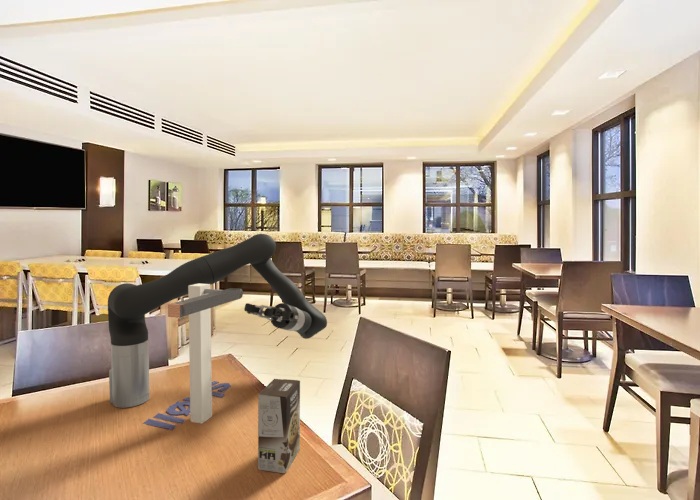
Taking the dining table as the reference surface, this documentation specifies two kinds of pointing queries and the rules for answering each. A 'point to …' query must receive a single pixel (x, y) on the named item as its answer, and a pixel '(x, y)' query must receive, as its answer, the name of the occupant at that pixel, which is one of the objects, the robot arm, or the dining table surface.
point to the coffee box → (278, 425)
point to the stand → (200, 358)
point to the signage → (182, 409)
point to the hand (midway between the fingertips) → (258, 308)
